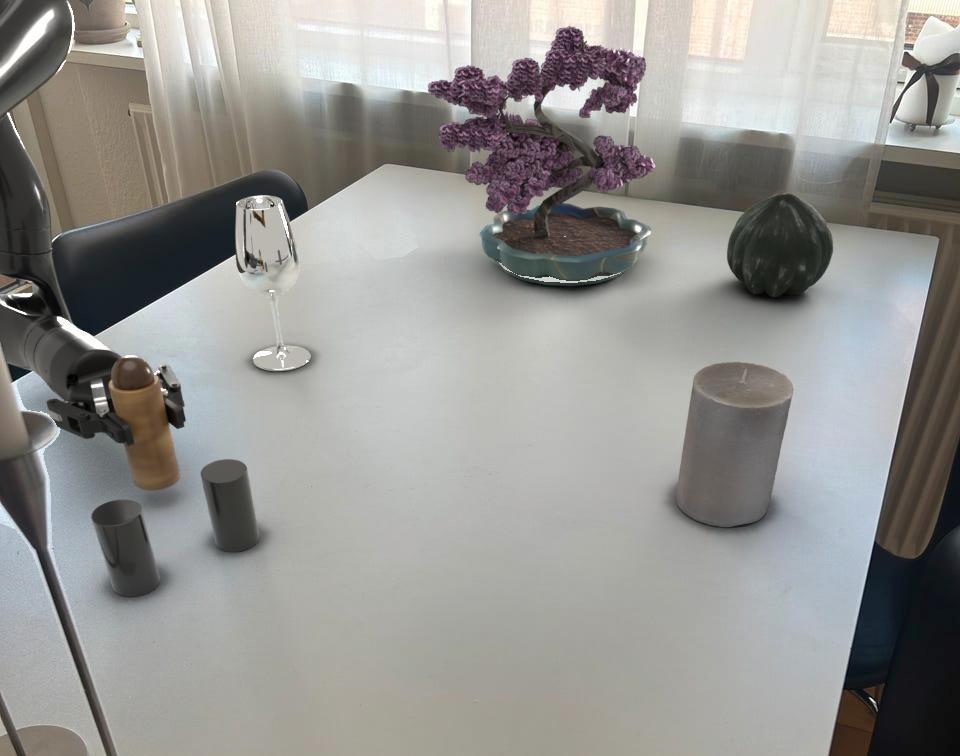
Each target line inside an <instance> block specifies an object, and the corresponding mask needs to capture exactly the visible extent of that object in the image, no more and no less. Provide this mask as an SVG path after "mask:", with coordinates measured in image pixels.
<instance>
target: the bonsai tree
mask: <svg viewBox="0 0 960 756" xmlns="http://www.w3.org/2000/svg"><path fill="white" fill-rule="evenodd" d="M554 34H555V38H554V40H552V41H551V43H550V46H551V47H550V50H547V51H546V52H545V55H544V56H545V58H544V60H545V61H544V62H542V63H541V65H539V62H538V61H536V60H535V59H533V58H531V57H524V58H519V59H516V60H514V61H513V62H512V63H511V66H512V68H511V72H510V73H509V74H508V75H507V78H506V79H507V81H504V80H501V78H500V76H498V75H497V74H496V75H492V76H488V77H486V74H484V72H483V71H484V70H483V69H481V68H479V67H476V66H475V65H469V64H467V65H466V66H461V67H460V66H459V67H458V68H455V70H454V74H455V75H454V78H453V80H452V81H448V79H439V80H435V81H431V82H429V83H428V84H427V88H428V89H427V92H428V93H429V94H430V95H431V96H435V98H436V99H438V100H441V99H442V100H444V101H447V103H448V104H452V105H453V106H457V105H458V107H463V108H466V109H467V110H468V113H469V114H470V115H477V116H475V117H470V118H467V119H465V121H464V123H462V124H460V122H458V121H456V122H455V121H451V122H450V123H449V122H447V123H443V124H441V125H440V126H439V128H438V130H439V133H438V139H439V145H440V147H441V148H442V149H444V150H446V151H447V152H448V153H454V152H455V149H456V147H458V148H461V149H465V148H466V146H467V147H468V149H469V151H470V152H471V153H475V152H476V151H477V152H478V153H479V154H481V149H482V150H484V151H489V152H491V153H490V154H488V157H487V158H486V162H485V164H484V165H483V163H482V162H481V161H475V162H472V163H471V166H470V167H469V168H468V169H467V171H466V172H465V180H466V181H467V182H468V183H469V184H475V185H476V186H481V185H482V184H483V185H484V186H485V185H487V184H488V183H489V184H488V185H487V186H486V187H485V190H486V191H485V193H486V194H487V195H488V197H487V200H486V201H485V210H488V211H489V212H494V214H495V215H494V216H493V217H492V221H493V223H491V224H487V225H485V226H484V227H483V228H482V230H480V231H479V233H478V236H479V237H480V238H481V246H482V249H483V253H484V254H485V255H486V256H487V257H489V258H490V259H492V260H494V261H495V262H496V261H498V262H500V263H502V265H503V266H505V267H506V268H507V269H509V270H510V271H512V272H513V273H512V272H509V271H507V270H505V269H504V268H503V267H502V266H501V265H500V264H499V263H498V262H497V264H498V265H499V266H500V268H501V269H502V270H503V272H504V273H505V274H508V275H510V276H512V277H515V278H517V279H519V280H521V281H524V282H529V283H534V284H539V285H544V286H561V287H577V286H584V285H585V286H586V285H595V284H600V283H603V282H607V281H610V280H613V279H617V278H619V277H620V276H621V275H622V274H624V273H625V272H627V271H628V270H631V269H632V268H633V267H634V266H635V264H636V262H637V260H638V257H639V255H640V254H641V253H643V252H645V249H646V246H647V244H648V237H649V236H650V235H651V234H652V228H651V227H650V225H647V224H645V223H643V222H641V221H639V220H637V219H631V218H630V219H629V218H628V217H627V215H626V213H625V212H624V211H623V210H621V209H619V208H616V207H608V206H592V207H584V208H583V207H581V206H578V205H575V204H572V203H570V202H569V203H567V201H569V200H570V199H572V198H573V197H575V196H577V195H578V194H580V193H582V192H583V191H585V190H587V189H588V188H590V187H591V186H592V185H593V184H594V185H596V187H595V189H598V190H599V191H600V193H601V194H607V193H608V192H609V191H613V190H615V189H616V188H620V187H621V188H624V184H627V183H631V181H633V180H637V179H639V180H640V179H642V178H644V177H646V176H648V174H649V173H653V171H654V169H656V168H657V166H656V163H655V162H654V159H653V158H652V157H651V156H646V155H645V154H641V151H640V150H639V148H638V147H637V145H632V144H629V145H627V146H626V144H625V145H622V144H619V145H616V144H615V141H614V140H613V138H612V136H611V135H608V136H607V135H597V137H596V136H595V138H593V146H594V147H595V148H594V149H593V148H592V147H591V146H590V145H589V144H587V143H586V142H585V141H584V140H582V139H581V138H579V137H577V136H576V135H575V134H573V133H571V132H570V131H567V129H565V128H563V127H561V126H560V125H558V124H557V123H555V122H554V121H552V120H551V119H550V118H548V117H547V116H546V114H545V113H544V111H543V110H542V104H543V101H544V100H545V98H546V97H547V95H548V94H549V93H550V92H552V91H555V89H556V86H558V87H560V88H564V87H565V86H568V88H569V89H570V91H572V92H574V91H576V90H578V92H579V93H580V92H581V88H582V87H584V86H585V83H587V82H588V79H589V78H590V80H593V81H594V80H595V81H597V80H598V79H599V80H603V81H604V84H603V85H602V86H598V87H596V88H592V89H591V91H589V93H588V95H589V98H586V99H585V102H584V104H583V107H581V108H579V112H578V116H579V117H580V118H581V119H590V118H591V115H592V112H598V111H599V112H600V111H601V110H602V108H603V104H604V108H605V112H606V113H607V114H611V115H612V114H613V113H614V112H615V113H617V114H618V113H619V114H625V113H626V112H627V109H628V110H630V106H631V107H634V104H636V103H637V102H638V96H637V94H636V90H637V89H638V84H639V83H640V82H642V80H643V77H644V76H645V72H646V70H647V62H646V58H645V57H642V56H639V55H636V53H635V52H631V48H628V49H627V48H626V47H625V48H624V49H623V47H622V46H621V47H619V48H618V49H617V48H616V49H615V48H614V47H612V48H611V49H609V48H608V47H605V46H602V44H599V45H590V46H589V44H587V43H588V40H584V39H585V36H584V32H583V30H581V29H580V28H576V26H570V25H568V26H566V27H561V28H560V27H559V28H557V30H556V31H555V33H554ZM528 96H529V97H532V96H534V103H533V112H534V117H535V118H536V119H532V118H526V120H525V122H524V120H523V119H522V117H521V115H520V114H516V115H514V112H512V113H509V111H508V110H506V109H507V100H508V99H509V98H510V99H513V102H514V103H515V102H516V103H521V102H522V100H523V99H526V98H527V97H528ZM503 110H506V112H505V113H504V111H503ZM481 115H482V116H481ZM575 151H576V152H578V153H579V154H581V155H582V156H580V157H576V158H574V154H575ZM581 167H590V169H589V170H588V171H587V172H586V173H585V174H584V172H583V169H582V168H581ZM567 182H568V184H567V185H565V184H566V183H567ZM555 185H557V187H561V188H560V189H558V190H557V191H555V192H554V193H552V194H551V195H549V196H548V197H546V198H545V199H543V200H542V202H541V203H540V204H539V205H536V206H535V207H533V208H531V209H527V208H528V207H529V206H530V204H531V200H532V199H533V198H534V197H537V198H541V197H542V198H543V196H544V192H543V191H545V192H548V191H549V190H550V189H552V188H553V187H554V186H555ZM564 185H565V186H564ZM563 186H564V187H563ZM505 207H506V210H504V208H505ZM564 236H566V237H564ZM620 272H621V273H620ZM514 273H515V274H514ZM617 273H620V274H617ZM516 274H517V275H516ZM613 274H617V275H614V276H611V277H608V278H604V279H601V280H596V281H587V282H578V283H560V282H544V281H539V280H534V279H529V278H524V277H520V276H518V275H521V276H529V277H535V278H542V277H549V276H550V277H553V278H556V279H559V280H566V281H580V280H588V279H591V278H594V277H597V276H610V275H613Z"/></svg>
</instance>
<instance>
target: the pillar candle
mask: <svg viewBox="0 0 960 756" xmlns="http://www.w3.org/2000/svg"><path fill="white" fill-rule="evenodd" d="M693 376H694V377H693V379H692V385H691V386H692V387H691V393H690V398H689V405H688V412H687V418H686V426H685V431H684V438H683V445H682V452H681V459H680V464H679V465H680V466H679V472H678V478H677V480H678V481H677V485H676V492H675V502H676V506H678V509H680V511H682V513H683V514H685V515H686V516H688V517H690V518H691V519H692V520H694V521H697V522H699V523H702V524H705V525H708V526H713V527H714V526H715V527H719V528H731V527H736V526H742V525H747V524H752V523H756V522H758V521H760V520H761V519H762V518H764V516H765V515H766V514H767V513H768V510H769V506H770V502H771V498H772V493H773V489H774V485H775V480H776V474H777V471H778V466H779V460H780V455H781V449H782V445H783V440H784V436H785V432H786V429H787V428H786V427H787V424H788V418H789V412H790V408H791V403H792V398H793V395H794V386H793V382H792V381H791V380H790V378H789V377H787V375H785V374H784V373H782V372H780V371H778V370H776V369H773V368H771V367H768V366H765V365H761V364H756V363H753V362H751V363H750V362H741V361H726V362H720V363H713V364H710V365H706V366H704V367H702V368H701V369H699V370H698V371H697V372H696V373H695V374H694V375H693Z"/></svg>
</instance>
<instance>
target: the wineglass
mask: <svg viewBox="0 0 960 756" xmlns="http://www.w3.org/2000/svg"><path fill="white" fill-rule="evenodd" d="M235 205H236V206H235V223H234V225H235V227H234V251H235V263H236V268H237V272H238V275H239V277H240V279H241V280H242V283H244V284H245V285H246V287H248V289H250V290H251V291H252V292H254V293H255V294H257V295H260V296H262V297H265V298H267V299H268V301H269V303H270V307H271V312H272V317H273V324H274V330H275V337H276V345H274V346H271V347H266V348H264V349H262V350H260V351H258V352H257V353H256V354H255V355H254V356H253V359H252V361H253V362H252V363H253V364H254V365H255V366H256V367H257V368H259V369H261V370H264V371H270V372H287V371H293V370H296V369H299V368H301V367H303V366H305V365H307V364H308V362H309V361H310V360H311V357H312V356H311V353H310V352H309V350H308V349H306V348H304V347H301V346H299V345H298V346H297V345H289V344H286V345H285V344H284V341H283V336H282V330H281V329H282V328H281V321H280V316H279V297H282V296H283V295H284V294H286V293H287V292H288V291H289V290H291V288H292V287H293V286H294V285H295V284H296V281H297V279H298V278H299V276H300V275H299V274H300V270H301V259H300V255H299V249H298V244H297V241H296V237H295V234H294V231H293V228H292V224H291V221H290V217H289V215H288V213H287V210H286V207H285V204H284V201H283V199H282V198H280V197H278V196H275V195H274V196H273V195H253V196H247V197H245V198H242V199H239V200H238V201H237V202H236V204H235Z"/></svg>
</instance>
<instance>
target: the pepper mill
mask: <svg viewBox="0 0 960 756" xmlns="http://www.w3.org/2000/svg"><path fill="white" fill-rule="evenodd" d="M121 357H122V358H120V359H119V360H117V361H116V362H115V364H114V365H113V367H112V370H111V381H110V382H109V389H110V393H111V397H112V401H113V405H114V409H115V412H116V415H117V416H119V417H120V418H121V419H123V420H124V421H125V422H126V423H127V424H129V426H130V428H131V431H132V435H133V439H134V444H133V445H130V446H126V445H125V444H123V447H124V451H125V455H126V458H127V459H126V460H127V463H128V465H129V470H130V473H131V478H132V481H133V485H134V486H135V487H136V488H138V489H141V490H144V491H160V490H161V491H162V490H164V489H165V490H166V489H168V488H170V487H173V486H174V485H176V483H178V481H180V479H181V472H180V467H179V462H178V458H177V452H176V449H175V444H174V439H173V435H172V430H171V427H170V426H171V425H170V423H169V421H168V417H167V413H166V408H165V404H164V399H163V395H162V390H161V386H160V381H159V378H158V376H157V375H155V374H156V373H154V371H153V368H152V366H151V365H150V364H149V363H148V362H147V361H146V360H145V359H143V357H139V356H136V355H125V356H121Z"/></svg>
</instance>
